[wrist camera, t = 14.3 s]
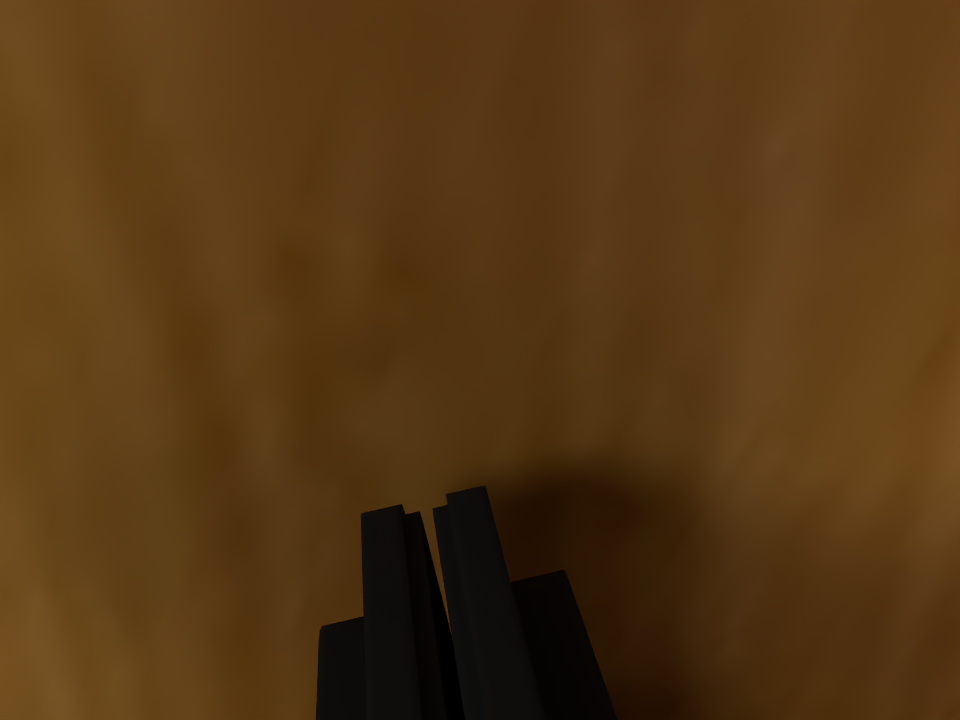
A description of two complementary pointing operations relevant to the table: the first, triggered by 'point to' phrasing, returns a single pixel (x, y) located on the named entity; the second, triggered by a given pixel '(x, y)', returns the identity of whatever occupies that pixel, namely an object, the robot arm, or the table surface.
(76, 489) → the table surface
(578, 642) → the robot arm
